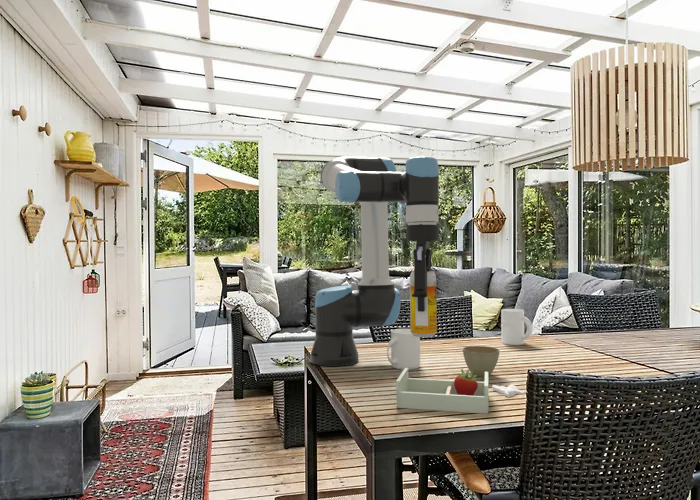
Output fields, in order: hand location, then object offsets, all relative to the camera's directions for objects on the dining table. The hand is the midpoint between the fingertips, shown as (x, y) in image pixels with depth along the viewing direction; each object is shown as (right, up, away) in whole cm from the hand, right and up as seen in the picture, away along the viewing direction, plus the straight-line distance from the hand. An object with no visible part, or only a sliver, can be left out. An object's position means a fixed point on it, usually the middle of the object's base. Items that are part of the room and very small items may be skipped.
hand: (423, 323), depth 124 cm
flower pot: (+19, -18, +24) cm, 36 cm away
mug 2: (+43, -17, +69) cm, 83 cm away
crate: (+5, -18, -1) cm, 19 cm away
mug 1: (-2, -18, +34) cm, 38 cm away
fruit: (+9, -18, -2) cm, 21 cm away
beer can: (0, -3, 0) cm, 3 cm away
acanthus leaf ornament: (+22, -19, +7) cm, 30 cm away
